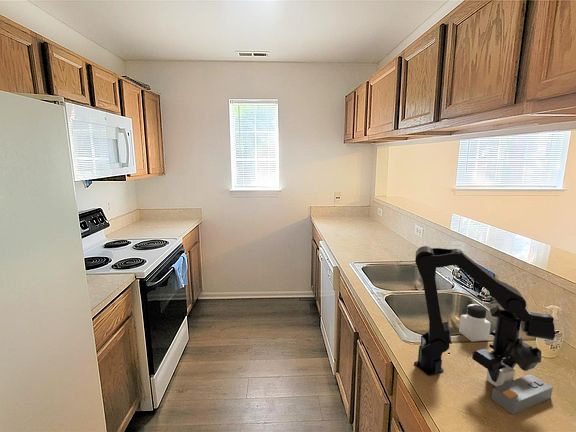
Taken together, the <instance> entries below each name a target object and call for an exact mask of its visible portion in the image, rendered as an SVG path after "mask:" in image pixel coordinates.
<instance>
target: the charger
mask: <svg viewBox="0 0 576 432" xmlns="http://www.w3.org/2000/svg"><path fill="white" fill-rule="evenodd" d="M502 365H504V366H505V368H502V369H500V372H499V375H498V378H497V381H496V382H494V381H492V379H491V377H490V374H489V372H488V369H487V368H486V369H487V370H486V376H485V380H486V381H487V382H488V383H490V384H492V385H493V386H495V387H497V386H500V385H502V384H505V383H508V382H510V381H513V380H515V379H514V378H515V375H516V374H515V372H516V369H514V368H511V367H509V366H508V365H506V364H504V363H503V362H502Z"/></svg>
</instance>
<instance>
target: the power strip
mask: <svg viewBox="0 0 576 432" xmlns="http://www.w3.org/2000/svg"><path fill="white" fill-rule="evenodd" d="M552 393H553V386H551V385H550V384H549V383H546V382H544V381H543V380H541V379H540V378H538V377H536V376H534V375H533V374H531V373H530V374H527V375H524V376H521V377H518V378H516V379H514V380H513V381H510V382H508V383H505V384H502V385H500V386H497V387H496V386H495V387H492V393H491V400H492V401H493V402H495V403H496V404H497V405H498V406H500V407H501V408H503V409H504V410H506V411H507V412H508V413H510V414H511V415H515V414H517V413H520V412H523V411H525V410H527V409H529V408H531V407H533V406H536V405H538V404H541V403H543V402H545V401H547V400H550V399H551V398H552Z"/></svg>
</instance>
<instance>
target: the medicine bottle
mask: <svg viewBox="0 0 576 432" xmlns="http://www.w3.org/2000/svg"><path fill="white" fill-rule="evenodd" d="M486 316H487V309H486V307H485V306H482V305H480V304H478V303H471V304H468V305H467V309H466V314H461V315H460V321H459V329H458V332H459V333H460V334H461V335H463V337H465V338H467V340H469V341H470V342H471V343H472V342H482V341H483V342H484V341H489V338H490V334H491V332H490V331H491V325H492V322H490V321H489V320H488V319H486V318H487V317H486Z"/></svg>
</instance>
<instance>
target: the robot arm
mask: <svg viewBox="0 0 576 432" xmlns="http://www.w3.org/2000/svg"><path fill="white" fill-rule="evenodd" d="M414 262H415V265H416V267H417V270H418V273H419V276H420V278H421V279H422V284H423V285H422V286H423V289H424V290H423V291H424V297H425V303H426V304H425V305H426V309H427V314H428V331H427V332H425V333H423V334H421V336H420V345H419V347H418V355H417V361H414V362H413V365H414V366H416V367H417V368H418V369H419V370H420V371H422V372H423V373H424V374H425V375H427V376H432V375H436V374H438V373H441V372H444V371H445V370H444V368H443V367H442V365H443V364H442V363H443V360H442V357H443V356H442V355H443V353H446V352H447V351H448V350H450V345H452V343H453V342H452V335H451V330H450V325H449V321H444V320H443V318H442V314H441V313H442V312H441V306H440V299H439V295H438V294H439V292H438V288H437V281H436V280H437V279H436V277H437V275H436V273H437V268H445V267H450V266H456V267H457V268H459V270H461V271H463V272H464V273H465V274H466V275H468V276H469V277H470V278H472V280H474V282H476V283H477V284H479V285H480V286H482V287H483V289H485V290H487V292H488V293H490V295H491V296H492V297H493V298H494V299H495V301H496V302H497V303H498V304H499V306H500V307H501V308H502V309H501V308H500V307H499V306H498V305H496V306H494V307H492V308H490V309H489V312H490V315H491V316H492V317H495V318H496V322H495V328H494V330H490V331H491V332H490V335H492V336H493V340H492V341H493V342H491V343H489V348H490V349H492V350H490V351H489V350H488V349H485V348H482V349H478V350H475V351H472V357H471V358H472V360H473V361H475V362H476V363H477V364H479V365H481V366H482V367H484V368H485V369H488V372H489V374H490V377H491V379H492V381H494V382H496V381H497V378H498V375H499V372H500V369H502V368H505V366H504V365H502V362H503V363H504V364H506V365H508V366H509V367H511V368H513V369H514V368H515V367H516V365H517V366H518V367H519V369H521V370H522V371H524V372H528V370H532V369H535V367H536V366H537V365H538V364H540V363H541V362H542V350H541V349H540V348H539V347H537V346H536V347H533V346H531V345H530V344H527V343H526V342H524V341H523V338H522V337H520V336H519V335H520V330H521V331H522V332H524V333H525V336H527V337H532V338H537V339H543V340H547V341H553V340H554V339H555V338H556V337H555V336H556V330H555V328H556V327H555V324H554V323H555V322H554V320H555V318H554V317H553V315H552V314H549V313H548V314H547V313H538V312H531V311H530V310H529V309H528V308H527V301H526V299H525V298H524V297H523V295H522V294H521V292H520V291H519V290H518V289H517V288H515V287H514V286H512V285H510V284H508V283H506V282H503V281H501V280H499V279H497V278H496V277H494V276H493V275H492V274H491V273H489V271H486V270H485V269H484V268H483V267H481V265H479V264H478V263H476V262H475V261H474V260H472V259H471V257H469V256H467V255H466V254H465V252H463V251H462V250H461V249H459V248H443V247H441V248H440V247H431V246H428V245H427V246H426V245H423V246H421V247H419V248H418V249H417V250H416V251H415V261H414Z"/></svg>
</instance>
